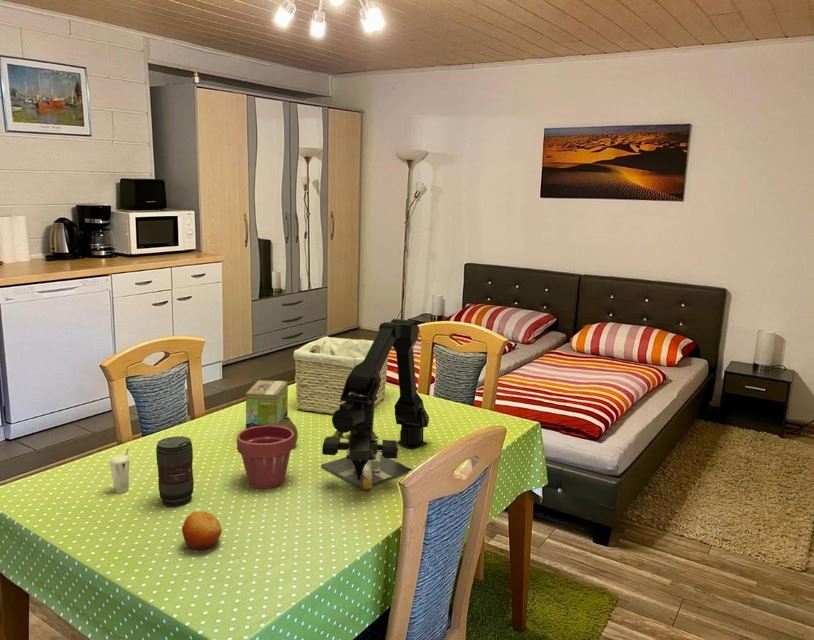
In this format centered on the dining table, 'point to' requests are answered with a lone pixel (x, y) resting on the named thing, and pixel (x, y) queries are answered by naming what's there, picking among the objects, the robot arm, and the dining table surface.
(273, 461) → the plant pot
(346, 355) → the basket
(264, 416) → the tea box
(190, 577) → the dining table surface
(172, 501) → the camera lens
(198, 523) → the fruit
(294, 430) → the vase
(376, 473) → the post base
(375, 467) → the square nut with handle
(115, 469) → the milkshake
